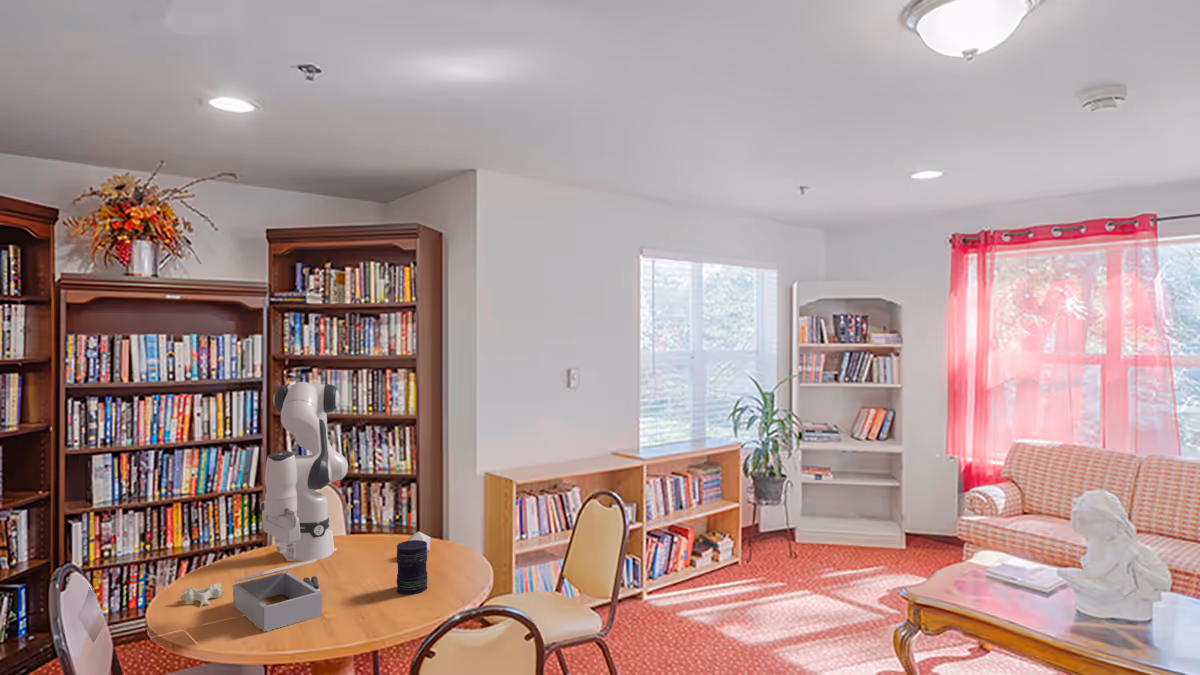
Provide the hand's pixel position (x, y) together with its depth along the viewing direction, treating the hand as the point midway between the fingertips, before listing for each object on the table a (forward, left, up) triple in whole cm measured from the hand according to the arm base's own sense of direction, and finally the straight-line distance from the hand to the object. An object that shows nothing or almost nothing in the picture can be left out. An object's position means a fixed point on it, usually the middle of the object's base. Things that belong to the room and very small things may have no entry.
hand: (281, 552), depth 204 cm
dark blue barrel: (+10, +38, -19) cm, 44 cm away
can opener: (-11, +13, -19) cm, 26 cm away
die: (-18, +57, -19) cm, 63 cm away
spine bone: (-28, -14, -20) cm, 37 cm away
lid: (-17, 0, -11) cm, 21 cm away
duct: (-4, 0, -19) cm, 19 cm away
